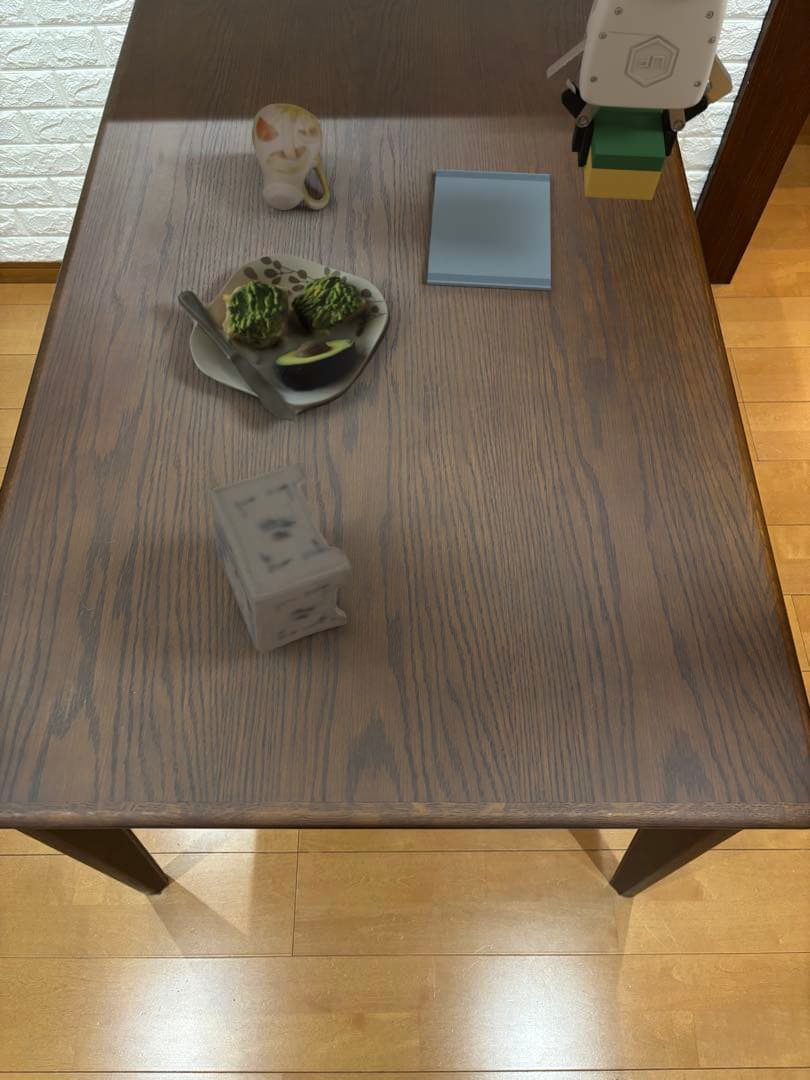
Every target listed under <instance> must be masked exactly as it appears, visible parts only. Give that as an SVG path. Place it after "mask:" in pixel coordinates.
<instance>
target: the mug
mask: <svg viewBox="0 0 810 1080" xmlns="http://www.w3.org/2000/svg"><path fill="white" fill-rule="evenodd" d="M251 139H252V140H251V141H252V146H253V149H254V152H255V155H256V158H257V162H258V163H259V167H260V169H261V173H262V179H263V180H262V181H263V183H262V184H263V185H262V196H263V199H264V201H266V203H267V204H268V205H269V206H271V207H272V208H274V209H276V210H280V211H288V210H292V209H293V208H295V207H297V206H299V204H301V202H302V201H303V203H304V204H305V205H306V206H307V207H308V208H310V209H311V210H314V211H318V210H321V209H323V208H325V207H326V206H327V204H329V202H330V198H331V193H330V188H329V185H328V181H327V179H326V176H325V172H324V168H323V164H322V163H323V161H322V156H321V150H322V146H323V131H322V126H321V123H320V122H319V120H318V118H317V117H316V116H315V115H314V114H313V113H311V112H310V111H309V110H307V109H305V108H303V107H301V106H298V105H296V104H292V103H285V102H283V103H281V102H279V103H270V104H268V105H265V106H263V107H262V108H260V109H259V111H258V112H257V113H256V114H255V116H254V119H253V124H252V128H251ZM312 170H313V171H315V174H316V175H315V176H316V177H317V179H318V181H319V184H320V186H321V190H322V193H323V194H322V197H321V198H319V199H314V198H312V197H311V196H310V194H309V193H308V189H307V187H306V184H305V181H306V180H307V177H308V176H309V174H310V173H311V171H312Z"/></svg>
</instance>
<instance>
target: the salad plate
mask: <svg viewBox="0 0 810 1080" xmlns="http://www.w3.org/2000/svg"><path fill="white" fill-rule="evenodd" d="M177 302H178V304H179V307H181V309H183V311H184V312H185V313H186V314H187V315H188V317H189V318H190V319H191V321H192V324H193V325H192V326H193V327H192V330H191V334H190V338H189V347H190V352H191V355H192V358H193V361H194V364H195V365H196V367H197V368H198V369H199V370H200V371H201V372H202V373H203V374H204V375H205V376H208V377H210V378H211V379H213V380H214V381H216V382H218V383H220V384H222V385H224V386H226V387H229V388H231V389H235V390H238V391H239V392H240V391H241V392H242V393H245V394H247V395H251V396H254V397H255V398H257V399H259V402H260V403H261V404H262V405H263V406H264V407H265V408H266V409H267V410H268V411H269V412H270V413H271V414H273V415H274V416H275V417H277V418H278V419H279V420H282V421H291V422H296V419H297V416H298V414H299V413H301V412H304V411H306V410H311V409H314V408H319V407H322V406H325V405H327V404H330V403H332V402H334V401H336V400H338V399H339V398H341V397H342V396H343V395H344V394H345V393H346V392H348V390H349V389H350V388H351V387H352V386H353V385H354V383H355V382H356V381H357V380H358V378H360V377H361V375H362V374H363V372H364V370H365V369H366V367H367V366H368V364H369V363H370V362H371V360H372V359H373V357H374V355H375V354H376V351H377V350H378V348H379V347H380V345H381V344H382V342H383V340H384V339H385V336H386V333H387V331H388V329H389V327H390V324H391V314H390V308H389V307H388V303H387V301H386V299H385V297H384V296H383V294H382V292H381V291H380V289H379V288H378V287H377V286H376V285H375V284H374V283H373V282H371V281H368V280H367V279H365V278H362V277H360V276H357V275H354V274H352V273H348V272H345V271H342V270H340V269H335V268H331V267H330V266H327V265H323V264H320V263H318V262H315V261H314V260H309V259H306V258H303V257H301V256H296V255H294V254H289V253H271V254H266V255H262V256H259V257H256V258H253V259H250V260H248V261H247V262H245V263H243V264H241V265H240V267H238V268H237V269H236V270H235V272H233V274H231V276H230V277H229V279H228V280H227V282H226V283H225V285H223V287H222V288H221V290H220V292H219V293H218V294H217V295H216V296H215V297H214V299H212V300H210V301H208V302H204V301H203V300H202V299H200V298H199V296H198V295H197V294H196V293H195V292H193V291H191V290H184V291H182V292H181V293H180V294H178V296H177Z"/></svg>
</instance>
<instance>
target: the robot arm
mask: <svg viewBox="0 0 810 1080" xmlns="http://www.w3.org/2000/svg"><path fill="white" fill-rule="evenodd" d="M728 1H729V0H593V3H592V6H591V10H590V13H589V16H588V21H587V24H586V28H585V32H584V36H583V39H582V40H581V41H580V42H579V43H577V44H576V45H575V46H574V47H572V48H571V49H569V51H567V52H566V53H565V54H564V55H563V56H562V57H560V58H559V59H558V60H557V61H555V62H554V63H553V64H551V65H550V66H549V67H548V68H547V69H546V70H545V84H546V86H547V87H548V88H549V89H550V90H551V92H553V94H554V95H555V96H556V97H557V98H559V100H560V101H561V104H562V105H563V107H564V108H565V109H566V110H567V111H568V113H570V115H571V116H572V117H573V118H574V119H575V123H574V128H573V133H572V138H571V152H572V153H577V167H578V168H584V166H586V163H587V159H588V154H589V150H590V146H591V141H592V137H593V132H594V116H595V115H596V113H597V112H598V110H599V109H600V107H601V106H607V107H625V108H647V109H661V110H662V111H661V117H662V127H663V136H664V146H665V156H666V157H670V156H671V154H672V151H673V148H674V145H675V143H676V139H677V136H678V133H679V132H681V131H682V130H684V129H685V127H686V124H687V123H688V122H690V121H691V120H693V119H694V118H696V117H698V116H699V115H700V114H702V113H704V112H705V111H706V110H707V109H708V107H709V106H710V105H711V104H712V105H713V104H715V103H717V102H718V101H719V100H721V99H722V98H724V97H726V96H727V95H729V94H730V93H731V92H732V91H733V87H734V86H733V80H732V77H731V75H730V73H729V71H728V70H727V68H726V67H725V65H724V63H723V62H722V60H721V59H720V57H719V55H718V54H717V50H718V46H719V42H720V38H721V33H722V29H723V25H724V20H725V16H726V12H727V7H728ZM579 70H580V71H579ZM578 71H579V82H578V86H577V84H575V83H574V82H573V81H572V80H570V77H572V76H573V75H575V74H576V73H577V72H578Z"/></svg>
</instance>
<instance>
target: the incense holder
mask: <svg viewBox="0 0 810 1080" xmlns="http://www.w3.org/2000/svg"><path fill="white" fill-rule="evenodd" d="M307 482H309V476H308V473H307V472H306V469H305V467H304V465H303V464H302V463H301V462H298V463H293V464H290V465H289V464H288V465H286V466H282V467H279V468H276V469H273V470H269V471H267V472H263V473H259V474H256V475H253V476H250V477H248V478H244V479H240V480H236V481H233V482H231V483H227V484H224V485H221V486H217V487H216V486H215V487H212V488H211V489H210V492H209V495H208V496H209V502H210V509H211V515H212V519H213V520H212V523H213V529H214V537H215V539H214V540H215V549H216V554H217V557H218V560H219V563H220V566H221V567H222V569H223V571H224V574H225V575H226V578H227V580H228V583H229V585H230V588H231V590H232V592H233V595H234V597H235V600H236V603H237V605H238V608H239V610H240V612H241V615H242V617H243V620H244V623H245V626H246V628H247V631H248V633H249V636H250V639H251V641H252V644H253V646H254V648H255V649H256V650H257V651H258V652H259V653H260V654H267V653H269V652H272V651H273V650H275V649H279V648H280V647H283V646H286V645H288V644H290V643H292V642H294V641H299V640H300V639H302V638H305V637H307V636H311V635H314V634H317V633H321V632H324V631H326V630H330V629H334V628H337V627H342V626H345V625H347V622H348V616H347V613H346V612H345V611H344V610H343V609H341V608H340V607H338V605H337V601H338V590H339V588H340V587H341V586H343V585H345V584H347V583H348V582H350V580H351V577H352V565H351V562H350V560H349V558H348V556H347V554H346V553H345V552H344V551H343V550H341V549H340V548H339V547H338V546H331V545H330V544H329V543H328V542H327V540H326V538H325V537H324V535H323V534H322V532H321V530H320V527H319V525H318V522H317V520H316V518H315V517H314V514H313V513H314V512H313V511H312V509H311V506H310V504H309V503H308V501H307V499H306V497H305V495H304V493H303V487H304V485H306V484H307Z"/></svg>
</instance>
